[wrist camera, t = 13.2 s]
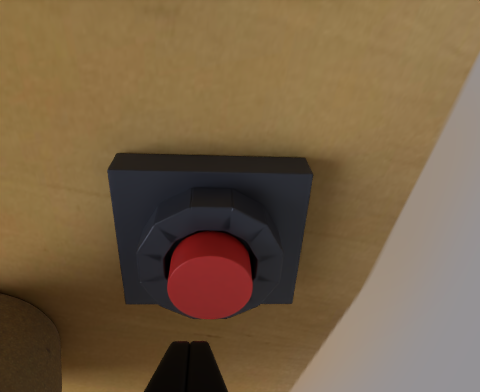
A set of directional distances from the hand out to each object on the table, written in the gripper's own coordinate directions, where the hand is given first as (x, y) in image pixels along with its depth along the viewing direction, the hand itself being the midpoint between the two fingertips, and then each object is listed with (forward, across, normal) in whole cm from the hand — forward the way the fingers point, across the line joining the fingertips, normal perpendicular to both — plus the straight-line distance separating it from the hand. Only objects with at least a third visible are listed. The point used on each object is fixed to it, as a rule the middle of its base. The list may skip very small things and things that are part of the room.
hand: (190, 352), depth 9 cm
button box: (+11, 0, +4) cm, 12 cm away
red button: (+8, 0, +4) cm, 9 cm away
